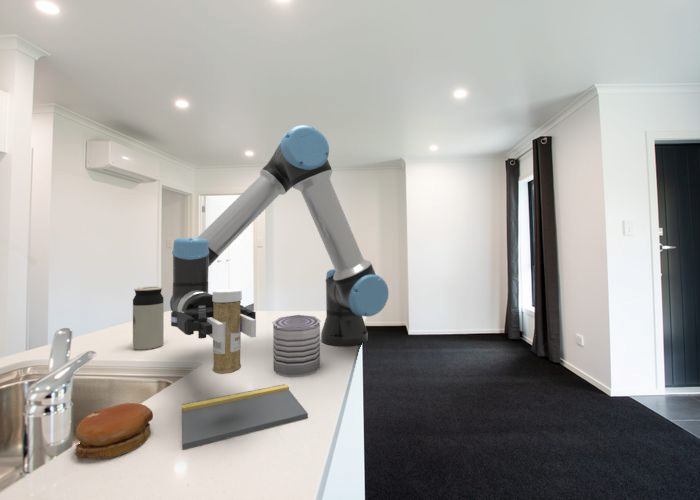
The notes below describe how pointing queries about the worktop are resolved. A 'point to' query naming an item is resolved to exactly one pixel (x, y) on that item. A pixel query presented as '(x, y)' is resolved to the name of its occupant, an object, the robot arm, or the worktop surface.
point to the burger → (113, 431)
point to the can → (296, 345)
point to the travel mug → (148, 318)
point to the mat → (238, 414)
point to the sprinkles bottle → (227, 330)
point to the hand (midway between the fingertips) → (237, 330)
